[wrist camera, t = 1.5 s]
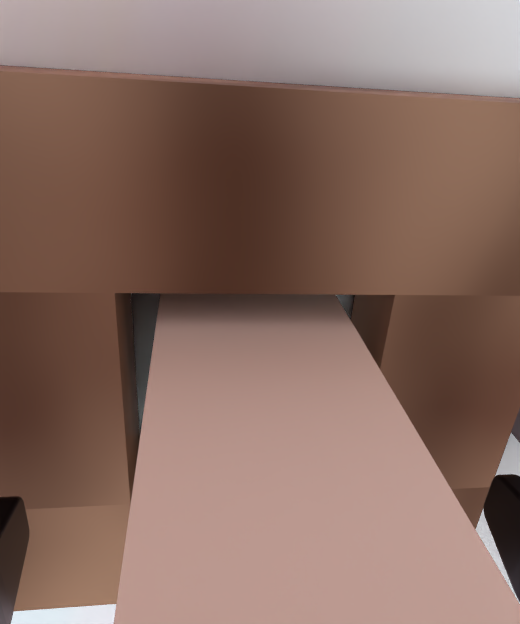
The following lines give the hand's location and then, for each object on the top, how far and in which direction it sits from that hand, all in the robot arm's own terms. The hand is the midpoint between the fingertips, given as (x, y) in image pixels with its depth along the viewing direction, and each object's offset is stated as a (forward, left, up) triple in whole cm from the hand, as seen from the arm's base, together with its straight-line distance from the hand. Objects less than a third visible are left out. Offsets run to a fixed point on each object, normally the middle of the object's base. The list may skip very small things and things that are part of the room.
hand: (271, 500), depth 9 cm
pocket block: (0, 0, -5) cm, 5 cm away
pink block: (0, 0, -5) cm, 5 cm away
